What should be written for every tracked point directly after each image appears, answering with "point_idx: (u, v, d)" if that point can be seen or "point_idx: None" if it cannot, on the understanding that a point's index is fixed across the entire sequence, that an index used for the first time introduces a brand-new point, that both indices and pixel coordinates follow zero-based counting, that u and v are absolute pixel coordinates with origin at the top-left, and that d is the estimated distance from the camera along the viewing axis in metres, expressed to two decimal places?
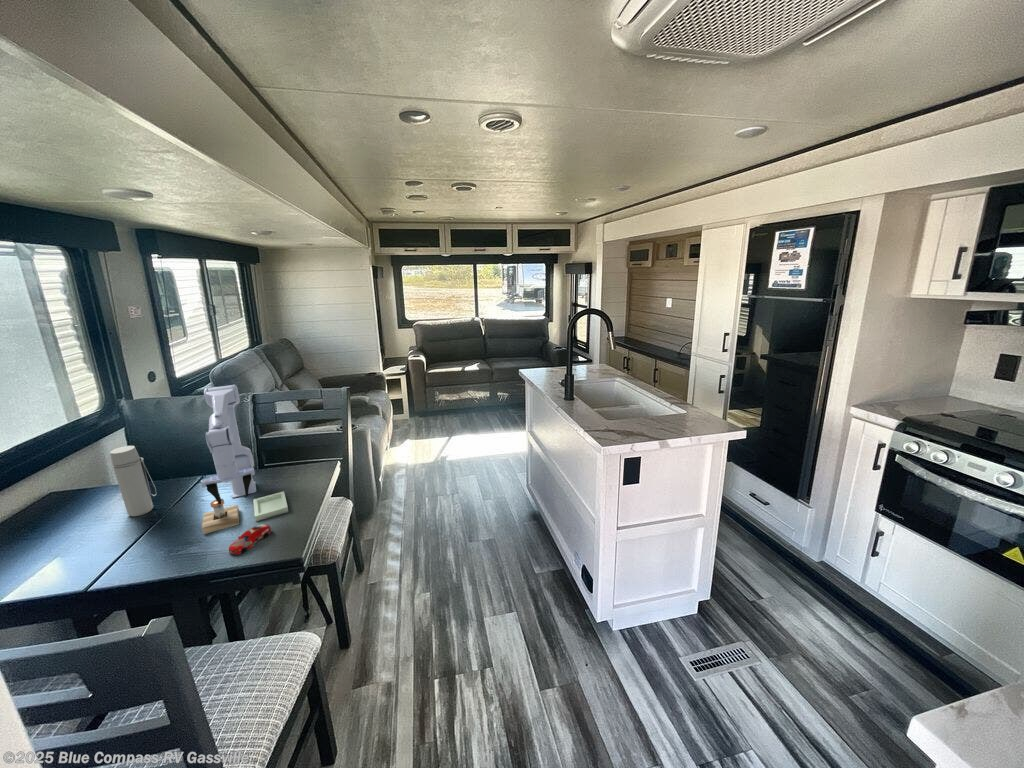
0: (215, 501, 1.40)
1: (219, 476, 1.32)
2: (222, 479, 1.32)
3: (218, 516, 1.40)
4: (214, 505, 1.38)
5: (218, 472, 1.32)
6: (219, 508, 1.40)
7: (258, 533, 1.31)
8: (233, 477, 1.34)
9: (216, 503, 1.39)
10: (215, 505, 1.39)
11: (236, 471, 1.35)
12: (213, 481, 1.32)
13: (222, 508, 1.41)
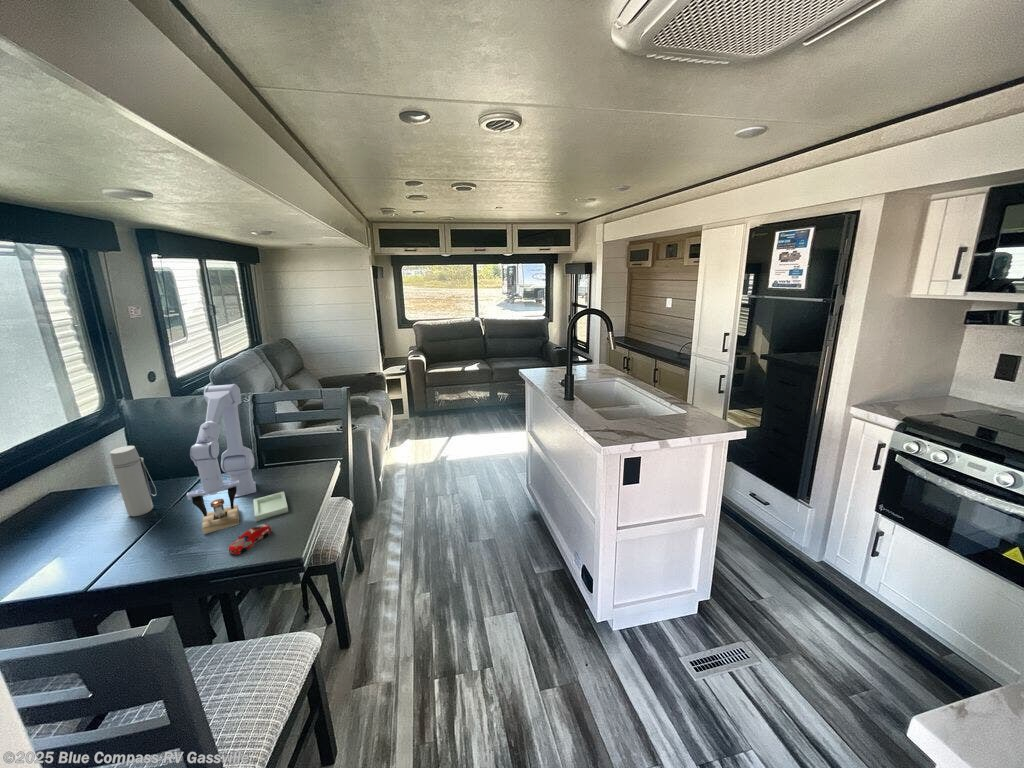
0: (215, 501, 1.40)
1: (204, 489, 1.36)
2: (207, 492, 1.36)
3: (218, 516, 1.40)
4: (214, 505, 1.38)
5: (203, 485, 1.35)
6: (219, 508, 1.40)
7: (258, 534, 1.31)
8: (218, 490, 1.37)
9: (216, 503, 1.39)
10: (215, 505, 1.39)
11: (221, 484, 1.39)
12: (198, 494, 1.35)
13: (222, 508, 1.41)
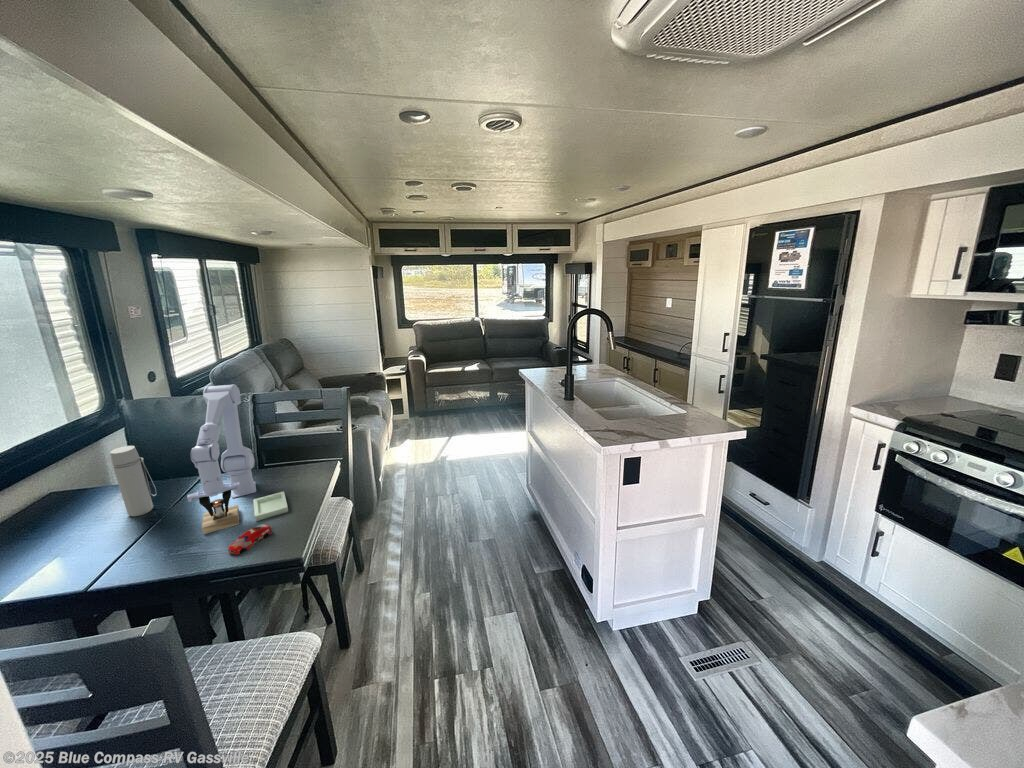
0: (215, 501, 1.40)
1: (205, 491, 1.36)
2: (208, 494, 1.36)
3: (218, 516, 1.40)
4: (214, 505, 1.38)
5: (204, 487, 1.36)
6: (219, 508, 1.40)
7: (258, 534, 1.31)
8: (219, 492, 1.37)
9: (216, 503, 1.39)
10: (215, 505, 1.39)
11: (222, 486, 1.39)
12: (199, 496, 1.35)
13: (222, 508, 1.41)
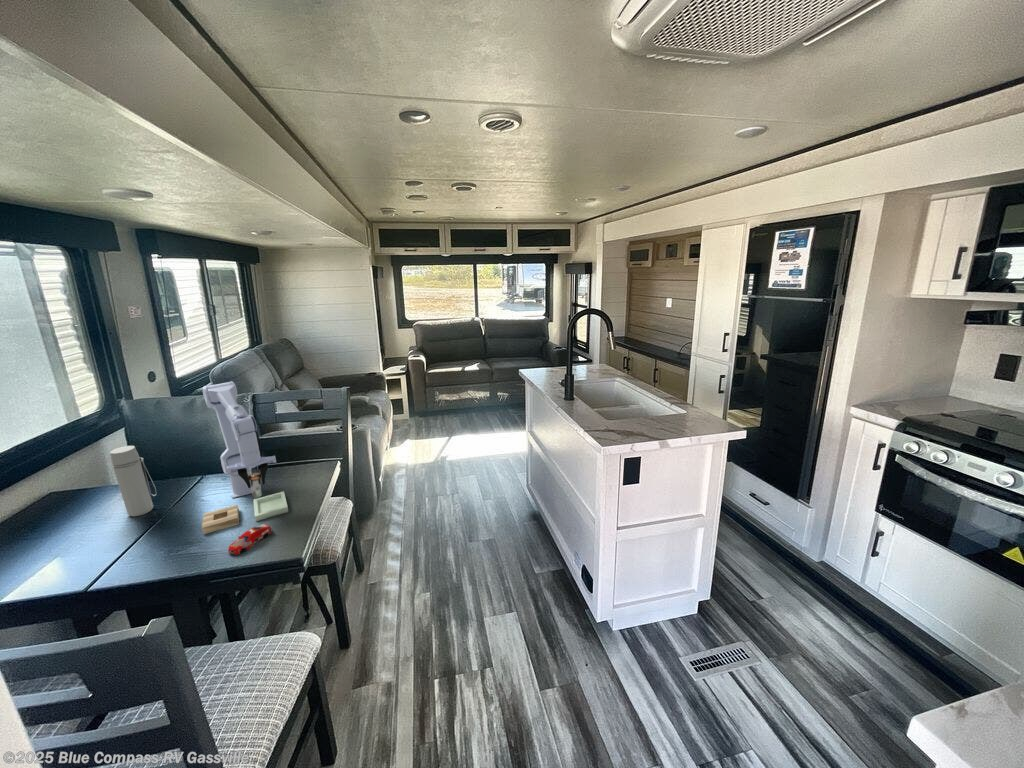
0: (253, 474, 1.45)
1: (244, 463, 1.40)
2: (246, 465, 1.40)
3: (254, 489, 1.44)
4: (252, 478, 1.43)
5: (243, 459, 1.40)
6: (256, 481, 1.44)
7: (258, 534, 1.31)
8: (256, 464, 1.42)
9: (254, 476, 1.44)
10: (253, 478, 1.43)
11: (259, 458, 1.43)
12: (238, 467, 1.40)
13: (259, 482, 1.45)
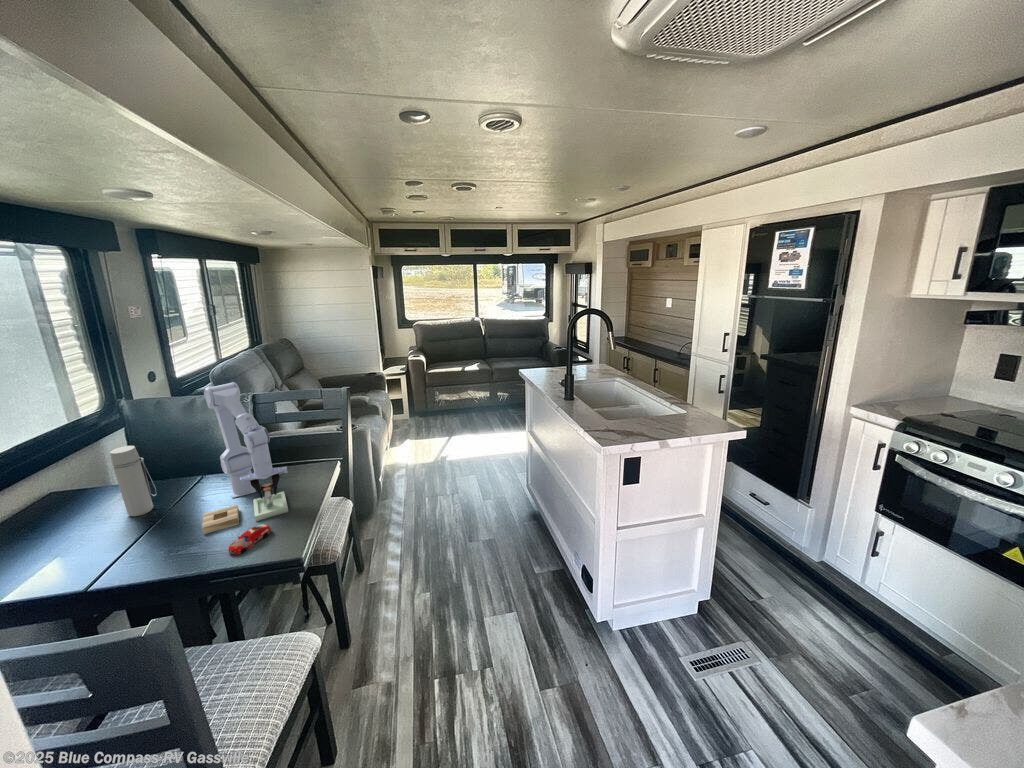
0: (265, 485, 1.48)
1: (256, 474, 1.43)
2: (259, 476, 1.43)
3: (266, 500, 1.47)
4: (264, 488, 1.46)
5: (255, 470, 1.43)
6: (268, 492, 1.47)
7: (258, 533, 1.31)
8: (269, 475, 1.45)
9: (266, 487, 1.47)
10: (265, 489, 1.46)
11: (271, 469, 1.46)
12: (251, 478, 1.43)
13: (271, 492, 1.48)
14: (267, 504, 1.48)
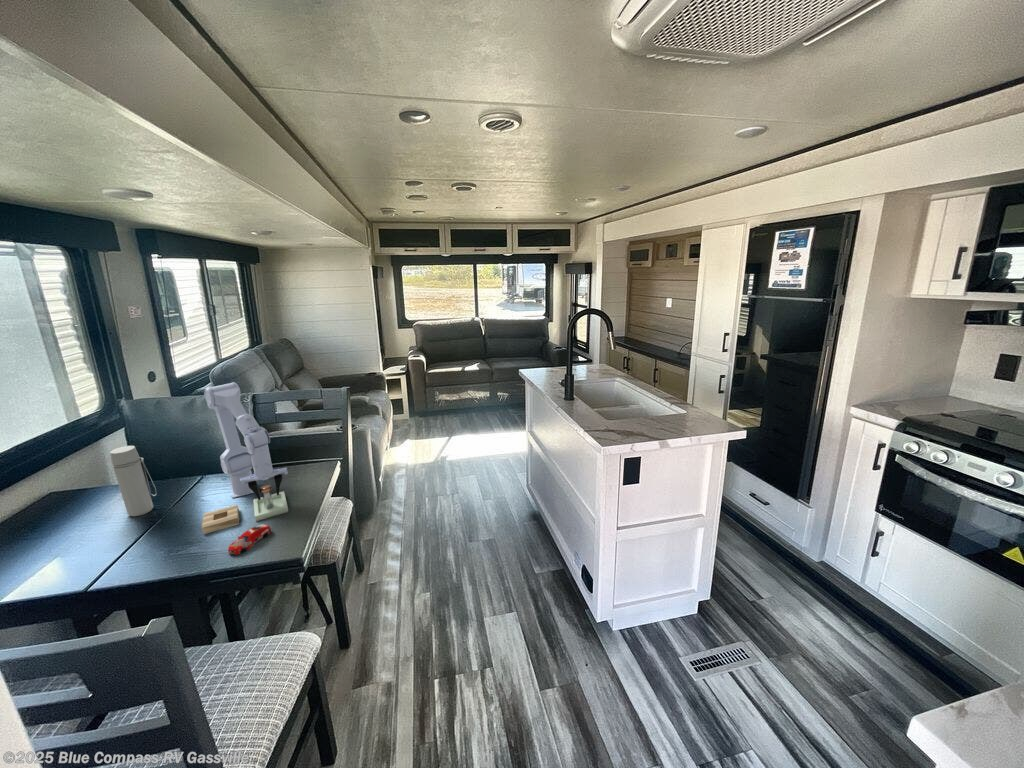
0: (263, 487, 1.48)
1: (256, 475, 1.44)
2: (259, 478, 1.44)
3: (266, 502, 1.48)
4: (263, 491, 1.46)
5: (255, 471, 1.43)
6: (267, 494, 1.47)
7: (258, 534, 1.31)
8: (269, 476, 1.45)
9: (265, 489, 1.47)
10: (264, 491, 1.46)
11: (271, 470, 1.46)
12: (251, 479, 1.43)
13: (270, 494, 1.48)
14: (267, 506, 1.48)
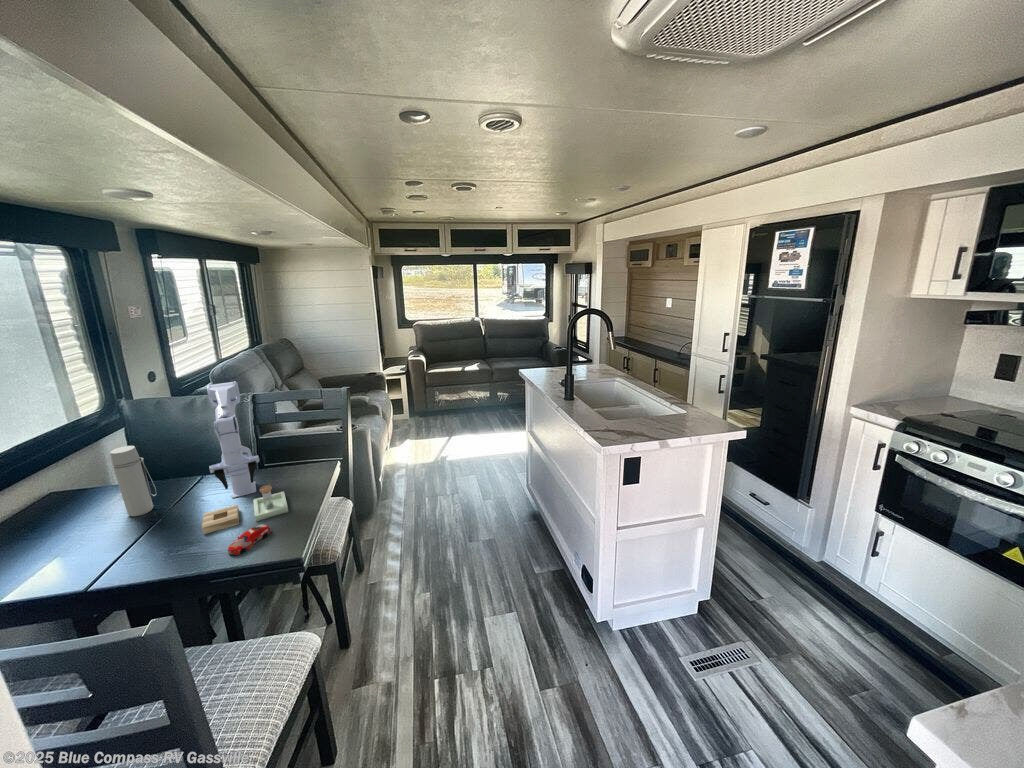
0: (263, 487, 1.48)
1: (226, 463, 1.41)
2: (229, 465, 1.41)
3: (266, 502, 1.48)
4: (263, 491, 1.46)
5: (225, 458, 1.41)
6: (267, 494, 1.47)
7: (258, 534, 1.31)
8: (239, 463, 1.42)
9: (265, 489, 1.47)
10: (264, 491, 1.46)
11: (242, 458, 1.44)
12: (220, 467, 1.40)
13: (270, 494, 1.48)
14: (267, 506, 1.48)
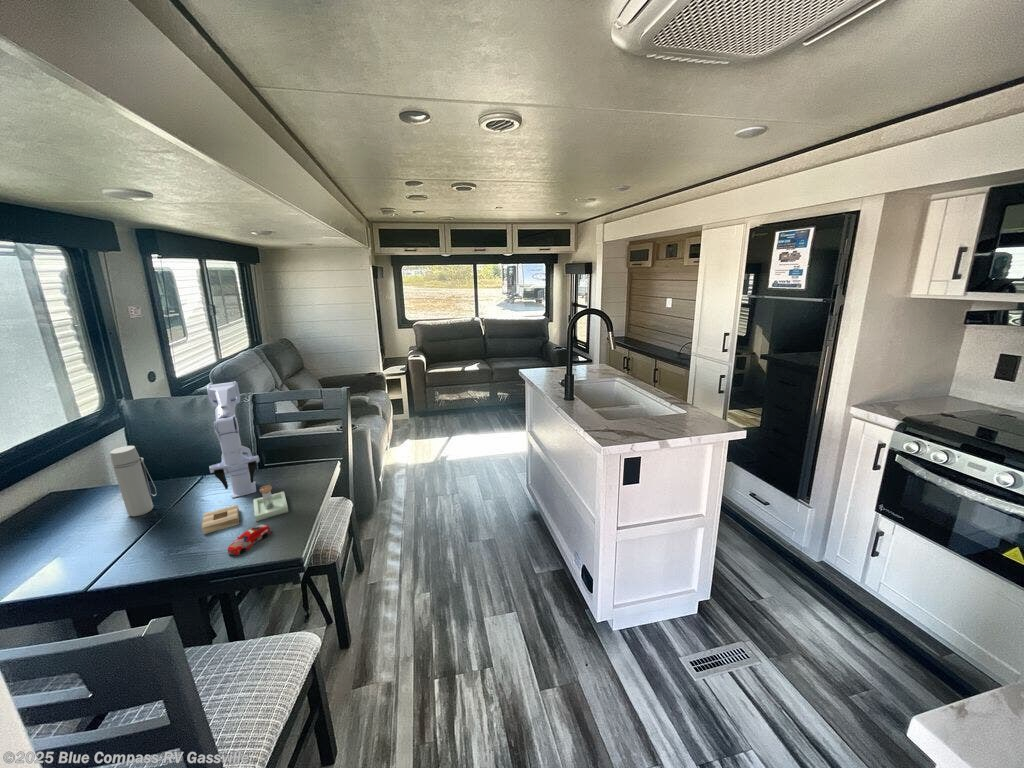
0: (263, 487, 1.48)
1: (226, 463, 1.41)
2: (229, 465, 1.41)
3: (266, 502, 1.48)
4: (263, 491, 1.46)
5: (225, 458, 1.41)
6: (267, 494, 1.47)
7: (257, 534, 1.31)
8: (239, 463, 1.42)
9: (265, 489, 1.47)
10: (264, 491, 1.46)
11: (242, 458, 1.44)
12: (220, 467, 1.40)
13: (270, 494, 1.48)
14: (267, 506, 1.48)
